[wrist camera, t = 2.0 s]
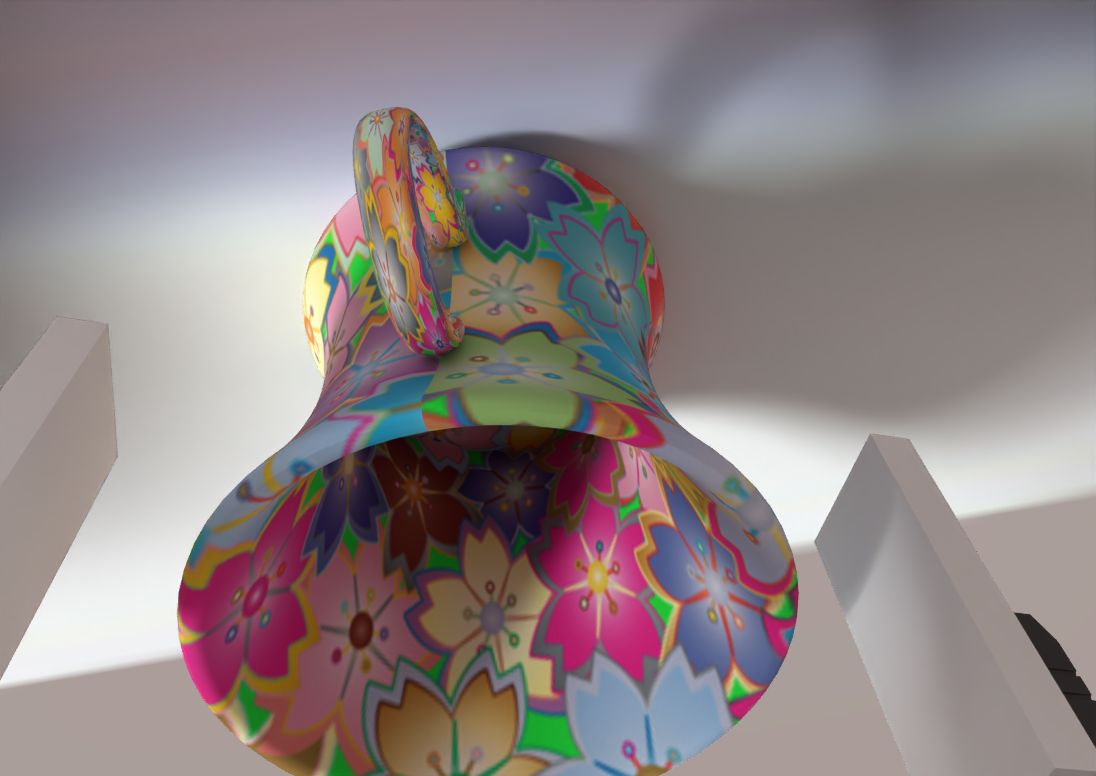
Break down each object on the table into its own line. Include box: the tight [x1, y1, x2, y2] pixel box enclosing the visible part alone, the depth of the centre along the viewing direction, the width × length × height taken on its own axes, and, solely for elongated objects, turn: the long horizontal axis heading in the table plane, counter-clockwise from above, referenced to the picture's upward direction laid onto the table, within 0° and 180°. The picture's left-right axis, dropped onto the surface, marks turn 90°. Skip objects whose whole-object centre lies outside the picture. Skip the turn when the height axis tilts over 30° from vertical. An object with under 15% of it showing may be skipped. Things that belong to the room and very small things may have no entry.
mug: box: [177, 107, 799, 776], centre depth 17 cm, size 12×9×11 cm
